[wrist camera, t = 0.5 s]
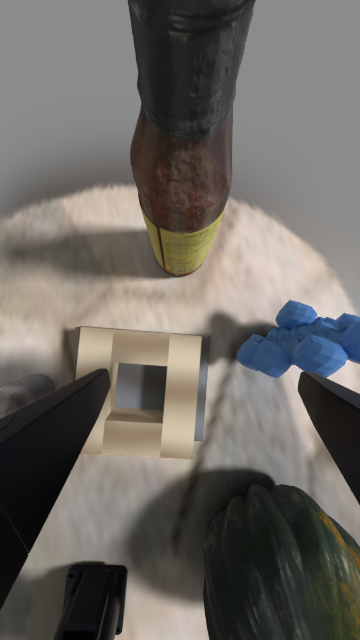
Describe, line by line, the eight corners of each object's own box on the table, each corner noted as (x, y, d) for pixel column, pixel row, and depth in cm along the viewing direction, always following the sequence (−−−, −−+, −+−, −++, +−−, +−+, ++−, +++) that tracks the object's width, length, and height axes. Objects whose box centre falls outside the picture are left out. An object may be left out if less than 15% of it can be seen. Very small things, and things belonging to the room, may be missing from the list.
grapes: (302, 293, 24) (436, 259, 12) (318, 344, 24) (472, 362, 12) (216, 320, 23) (265, 312, 11) (232, 373, 23) (300, 422, 11)
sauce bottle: (214, 249, 23) (454, -185, 4) (184, 288, 23) (271, 42, 3) (172, 217, 23) (183, -404, 4) (142, 256, 23) (-41, -201, 3)
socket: (201, 436, 22) (207, 459, 18) (73, 429, 22) (51, 452, 18) (208, 336, 23) (216, 337, 19) (84, 326, 22) (65, 325, 18)
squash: (413, 597, 17) (635, 894, 6) (304, 721, 17) (325, 1286, 6) (277, 449, 27) (264, 457, 15) (204, 527, 26) (137, 594, 15)
